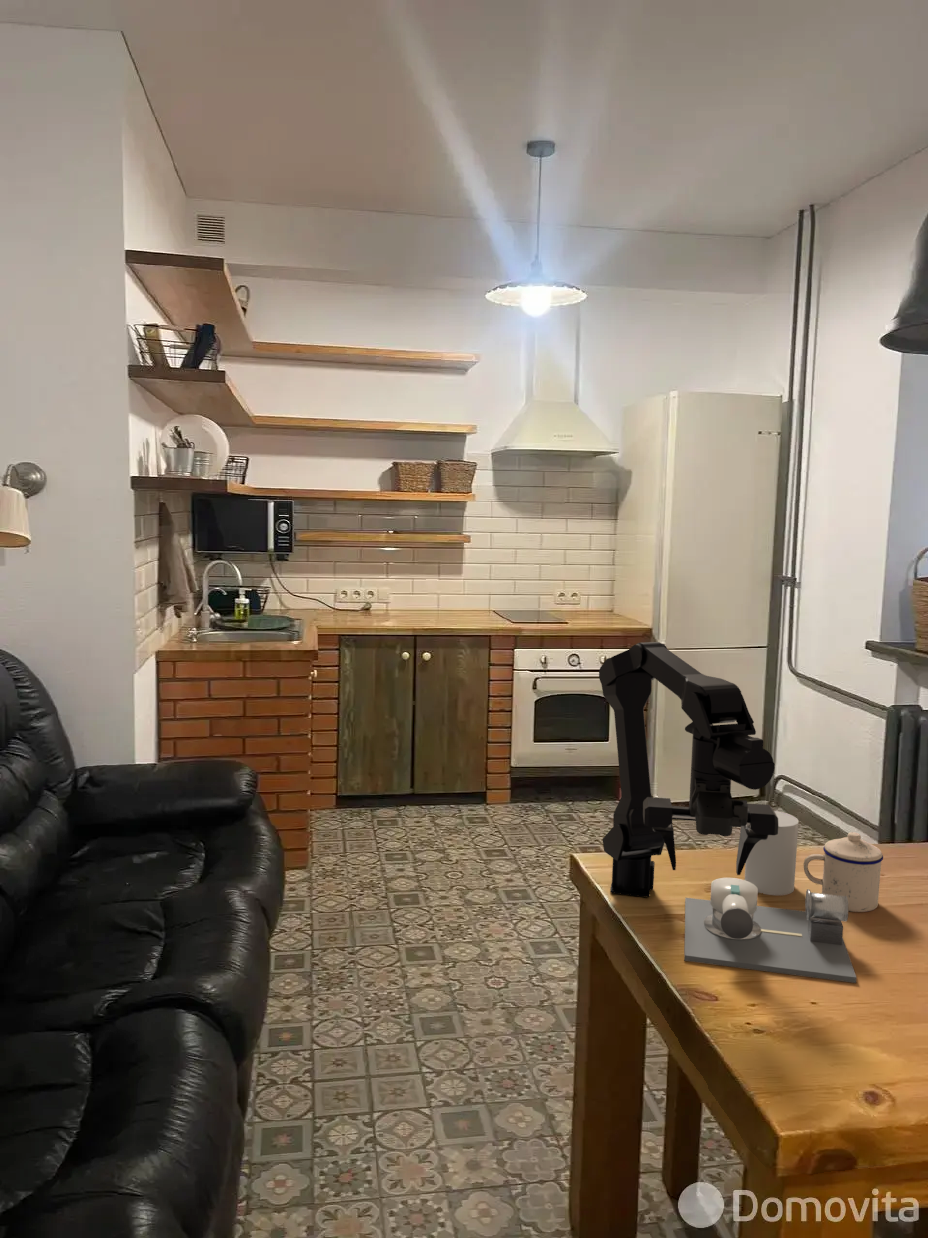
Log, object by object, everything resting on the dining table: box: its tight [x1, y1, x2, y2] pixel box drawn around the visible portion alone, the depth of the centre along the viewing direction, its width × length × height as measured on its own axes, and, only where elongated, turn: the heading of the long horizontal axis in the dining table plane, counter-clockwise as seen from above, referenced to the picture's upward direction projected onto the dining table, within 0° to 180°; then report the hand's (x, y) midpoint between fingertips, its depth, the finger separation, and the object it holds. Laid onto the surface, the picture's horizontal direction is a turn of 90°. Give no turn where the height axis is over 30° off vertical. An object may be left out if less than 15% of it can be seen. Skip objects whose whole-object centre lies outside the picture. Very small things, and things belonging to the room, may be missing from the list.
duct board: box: [683, 897, 858, 984], centre depth 139 cm, size 23×20×1 cm
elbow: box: [709, 877, 759, 939], centre depth 137 cm, size 13×7×4 cm, turn 166°
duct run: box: [804, 889, 849, 945], centre depth 137 cm, size 6×4×7 cm
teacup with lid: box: [803, 831, 884, 913], centre depth 153 cm, size 12×9×12 cm
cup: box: [744, 810, 799, 896], centre depth 158 cm, size 8×8×12 cm
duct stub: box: [704, 908, 761, 940], centre depth 141 cm, size 8×8×3 cm
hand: (705, 871), depth 136 cm, fingers open, 9 cm apart
